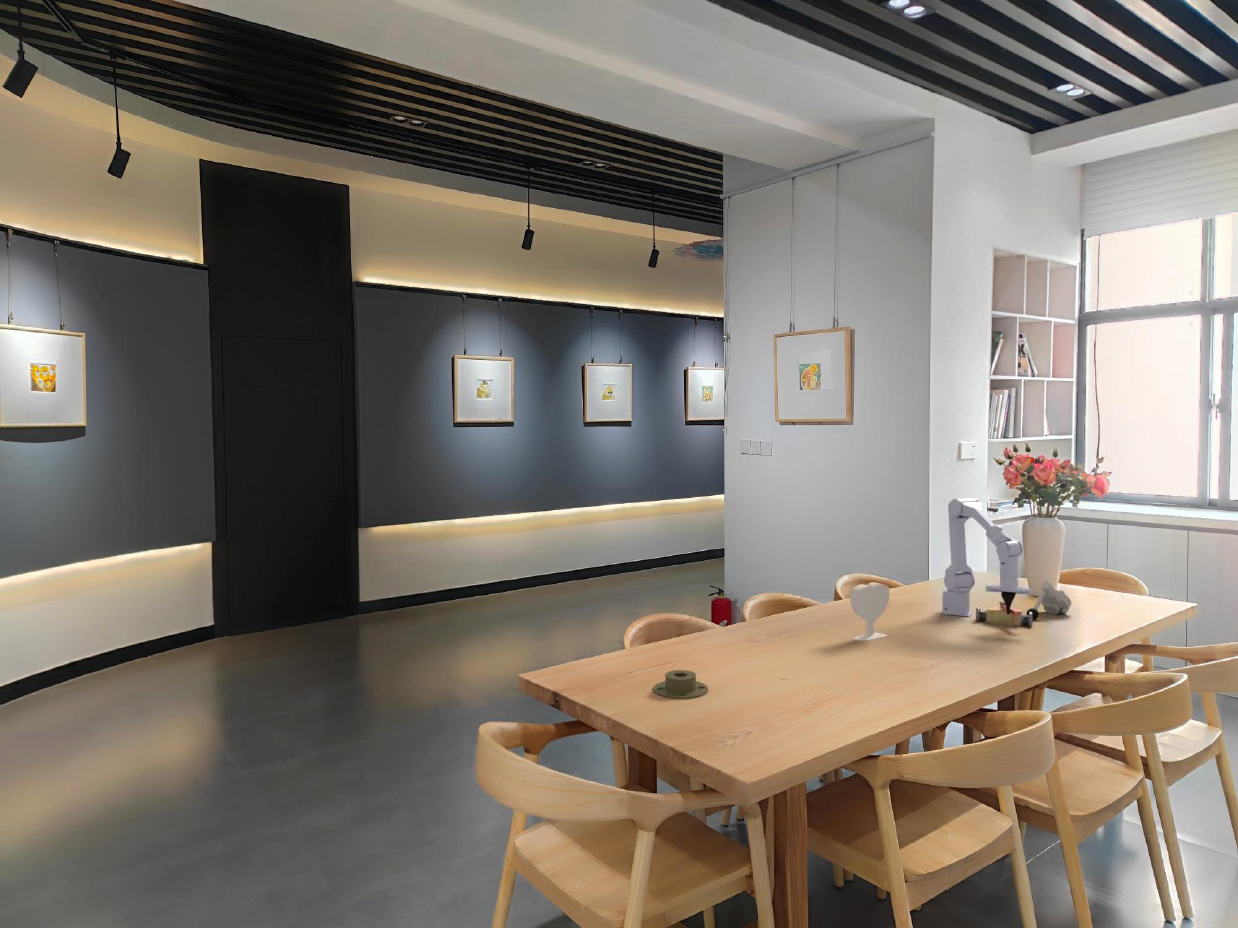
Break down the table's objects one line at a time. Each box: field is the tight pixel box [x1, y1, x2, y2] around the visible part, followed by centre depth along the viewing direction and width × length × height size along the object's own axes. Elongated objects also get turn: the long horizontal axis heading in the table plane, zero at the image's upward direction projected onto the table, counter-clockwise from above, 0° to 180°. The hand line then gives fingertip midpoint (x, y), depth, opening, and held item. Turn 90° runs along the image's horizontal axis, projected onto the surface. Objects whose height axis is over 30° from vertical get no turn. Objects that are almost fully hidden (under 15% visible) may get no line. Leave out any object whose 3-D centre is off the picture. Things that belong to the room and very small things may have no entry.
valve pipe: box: [975, 606, 1034, 628], centre depth 290 cm, size 18×6×6 cm, turn 60°
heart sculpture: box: [849, 581, 890, 642], centre depth 274 cm, size 16×5×18 cm, turn 122°
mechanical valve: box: [1025, 581, 1072, 621], centre depth 299 cm, size 10×18×15 cm
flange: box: [653, 669, 709, 700], centre depth 223 cm, size 5×15×15 cm
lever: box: [999, 601, 1021, 616], centre depth 285 cm, size 13×3×2 cm, turn 177°
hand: (1008, 613), depth 281 cm, fingers closed, pressing on lever
